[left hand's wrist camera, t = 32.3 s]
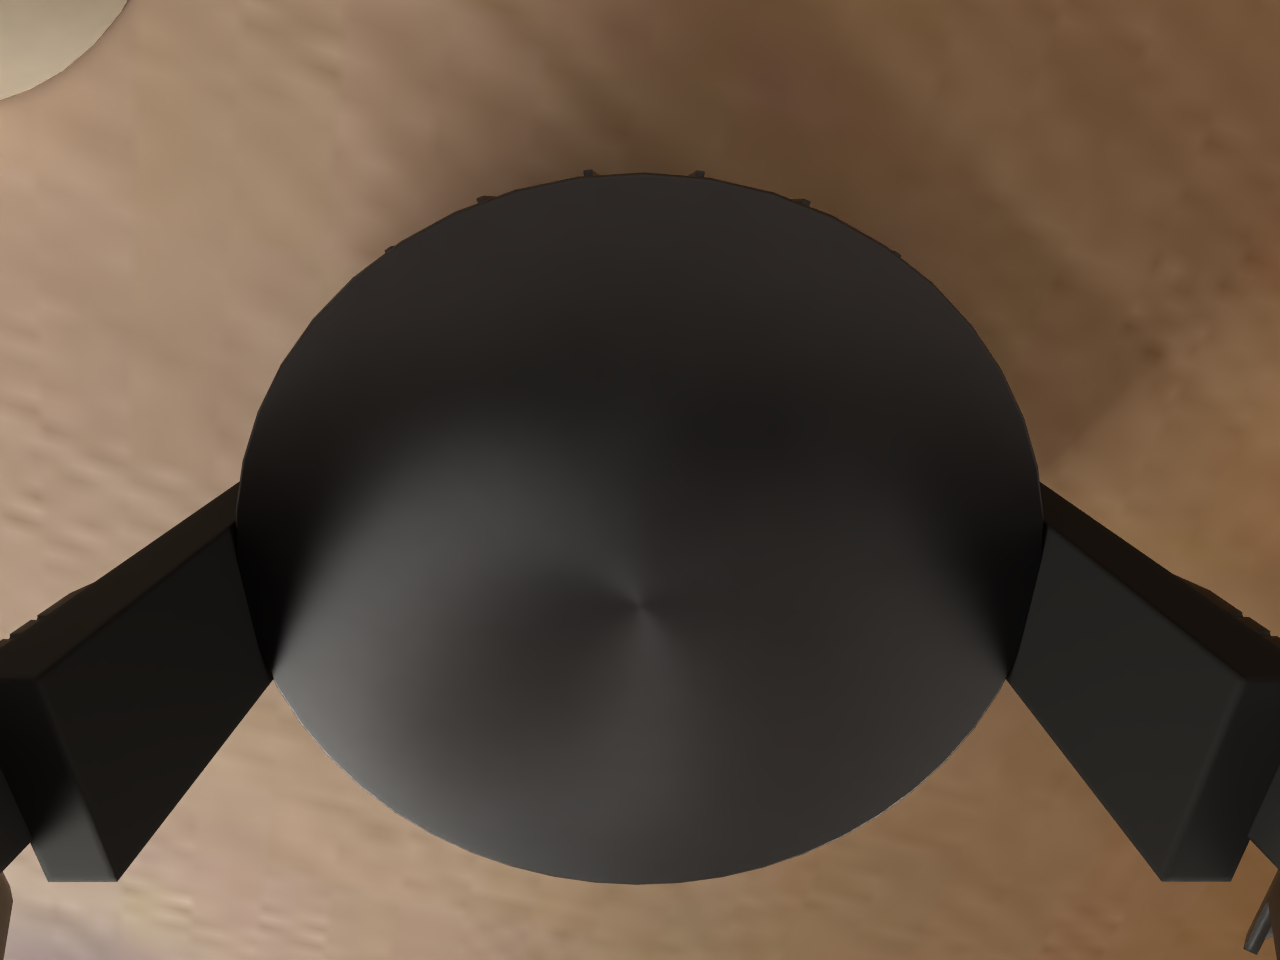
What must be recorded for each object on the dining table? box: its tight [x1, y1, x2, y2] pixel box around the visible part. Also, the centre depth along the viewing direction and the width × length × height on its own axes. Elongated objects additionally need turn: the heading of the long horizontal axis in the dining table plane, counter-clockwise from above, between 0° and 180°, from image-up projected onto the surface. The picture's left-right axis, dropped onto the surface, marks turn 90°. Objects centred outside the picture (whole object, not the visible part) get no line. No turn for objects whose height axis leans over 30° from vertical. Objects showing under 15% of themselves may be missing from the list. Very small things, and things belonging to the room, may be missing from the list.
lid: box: [236, 170, 1044, 885], centre depth 11 cm, size 12×12×2 cm
